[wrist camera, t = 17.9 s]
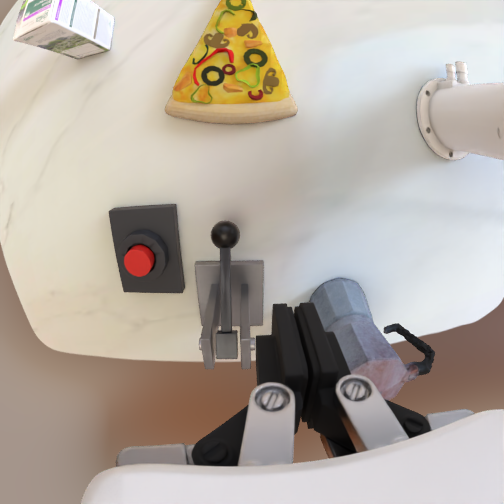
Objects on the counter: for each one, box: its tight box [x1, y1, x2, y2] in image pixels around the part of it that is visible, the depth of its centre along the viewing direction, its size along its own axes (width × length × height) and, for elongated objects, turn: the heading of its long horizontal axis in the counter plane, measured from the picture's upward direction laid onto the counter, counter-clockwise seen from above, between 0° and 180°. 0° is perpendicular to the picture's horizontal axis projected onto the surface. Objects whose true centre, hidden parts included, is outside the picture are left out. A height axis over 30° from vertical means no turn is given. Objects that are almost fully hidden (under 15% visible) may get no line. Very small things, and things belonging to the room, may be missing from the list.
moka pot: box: [310, 278, 435, 401], centre depth 31 cm, size 10×15×20 cm, turn 111°
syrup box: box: [13, 0, 115, 59], centre depth 18 cm, size 6×6×14 cm
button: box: [124, 245, 155, 277], centre depth 33 cm, size 4×4×2 cm
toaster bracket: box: [195, 261, 263, 369], centre depth 34 cm, size 10×9×13 cm
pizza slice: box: [165, 0, 298, 124], centre depth 25 cm, size 16×21×3 cm
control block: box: [109, 204, 185, 293], centre depth 35 cm, size 12×9×4 cm
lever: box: [211, 221, 240, 359], centre depth 30 cm, size 15×3×3 cm, turn 1°
